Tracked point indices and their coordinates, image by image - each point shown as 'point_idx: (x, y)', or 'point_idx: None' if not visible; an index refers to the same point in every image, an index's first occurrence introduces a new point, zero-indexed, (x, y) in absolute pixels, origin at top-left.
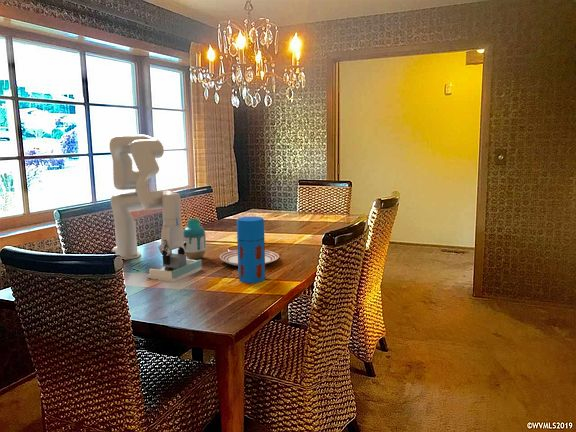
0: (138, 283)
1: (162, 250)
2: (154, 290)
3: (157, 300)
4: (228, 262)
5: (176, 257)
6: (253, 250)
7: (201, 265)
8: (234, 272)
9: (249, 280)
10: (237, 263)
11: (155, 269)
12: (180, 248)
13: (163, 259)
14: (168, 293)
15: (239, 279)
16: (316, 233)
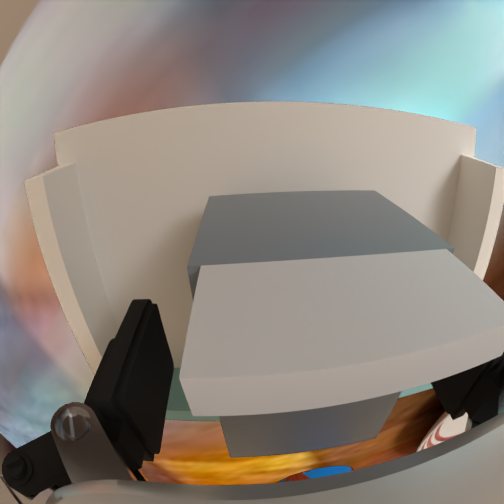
0: None
1: (23, 500)
2: (12, 338)
3: (3, 388)
4: (442, 419)
5: (241, 445)
6: None
7: None
8: (379, 436)
9: None
10: (421, 444)
11: (52, 247)
12: (489, 399)
13: (115, 343)
14: (44, 395)
15: (290, 479)
16: None
